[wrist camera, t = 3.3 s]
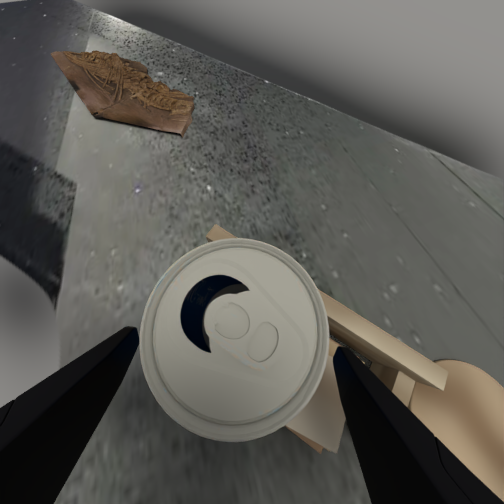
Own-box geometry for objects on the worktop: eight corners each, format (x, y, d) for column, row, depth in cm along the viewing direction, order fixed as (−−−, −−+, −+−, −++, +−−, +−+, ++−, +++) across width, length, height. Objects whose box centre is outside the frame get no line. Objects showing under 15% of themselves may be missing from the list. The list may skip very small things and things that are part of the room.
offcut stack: (314, 443, 14) (336, 481, 11) (256, 398, 15) (259, 420, 12) (351, 355, 17) (379, 364, 13) (298, 319, 17) (312, 319, 14)
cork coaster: (517, 537, 13) (525, 543, 13) (392, 446, 15) (396, 450, 14) (531, 403, 16) (538, 405, 16) (425, 337, 17) (430, 338, 17)
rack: (362, 436, 15) (418, 491, 10) (179, 302, 17) (156, 296, 13) (390, 357, 17) (448, 371, 12) (222, 247, 19) (215, 224, 15)
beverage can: (230, 272, 19) (210, 196, 7) (290, 309, 18) (374, 288, 6) (188, 335, 17) (70, 365, 5) (253, 380, 16) (278, 535, 4)
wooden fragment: (215, 114, 26) (214, 105, 25) (152, 163, 23) (147, 155, 22) (94, 38, 31) (89, 28, 30) (28, 70, 28) (20, 60, 27)
